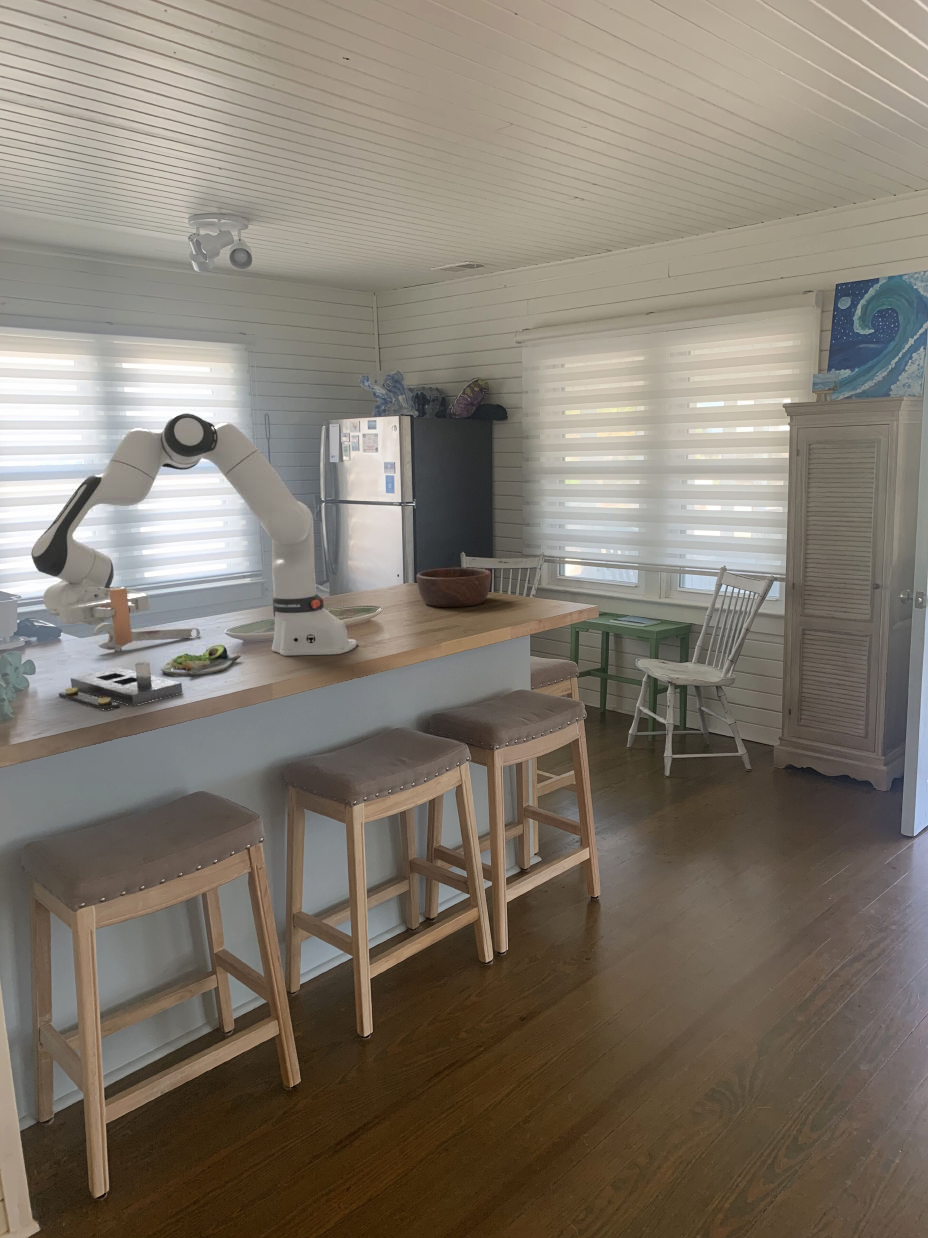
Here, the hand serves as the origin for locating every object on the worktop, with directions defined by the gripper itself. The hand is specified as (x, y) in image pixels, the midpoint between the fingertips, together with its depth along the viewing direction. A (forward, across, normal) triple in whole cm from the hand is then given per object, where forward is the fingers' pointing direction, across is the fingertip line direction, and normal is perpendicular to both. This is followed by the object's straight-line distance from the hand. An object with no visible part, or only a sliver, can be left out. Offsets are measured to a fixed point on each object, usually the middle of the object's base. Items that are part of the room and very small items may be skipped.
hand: (122, 610), depth 198 cm
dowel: (-1, 0, +7) cm, 7 cm away
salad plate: (-7, +23, +19) cm, 31 cm away
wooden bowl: (-10, +125, +19) cm, 127 cm away
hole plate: (-2, -3, +19) cm, 19 cm away
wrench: (-41, +30, +19) cm, 55 cm away
